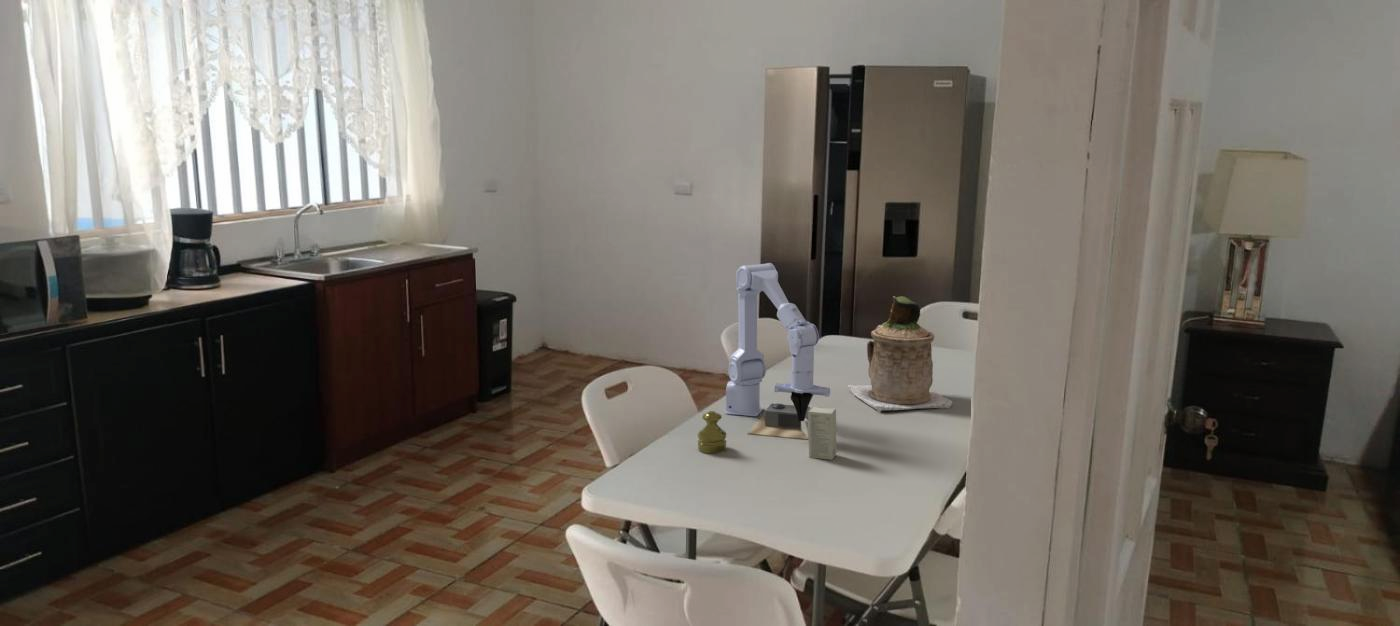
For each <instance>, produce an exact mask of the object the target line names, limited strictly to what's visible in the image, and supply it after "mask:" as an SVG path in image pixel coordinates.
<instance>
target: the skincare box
mask: <svg viewBox="0 0 1400 626" xmlns="http://www.w3.org/2000/svg"><path fill="white" fill-rule="evenodd" d="M808 420H809V440H808V457H809V458H812V459H821V460H830V461H831V460H833V459H834V458H835V456H836V455H837V409H836V408H834V407H833V408H832V407H831V408H830V407H822V406H821V407H820V406H812V407H810V410H809V411H808Z"/></svg>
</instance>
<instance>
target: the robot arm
mask: <svg viewBox="0 0 1400 626" xmlns="http://www.w3.org/2000/svg"><path fill="white" fill-rule="evenodd" d="M735 274H736V275H735V280H736V281H735V283H736V284H735V285H736V286H735V289H736V292H737V293H738V294H737V295H738V296H737V299H738V300H737V303H738V305H737V311H738V313H737V314H738V315H737V317H738V319H737V320H738V323H737V324H738V327H737V328H738V347H737V350H735V351H733V353H732V354H731V355H730V357H729V364H728V369H727V373H728V377H729V379H730V380H728V381H727V384H726V389H725V414H726V415H738V416H749V417H758V416H759V415H760V414H761V412H762V411H763V410H764V407H763V406H761V405H760V404H761V403H760V401H761V397H760V394H761V393H760V392H761V388H760V387H761V383H762V382H763V378H765V377H766V373H767V365H766V362H765V354H763V353H762V352H761V351H760V350H759V349H758V301H757V300H758V295H759V294H760V293H761V292H764V294H765V295H766V296H767V298H768V299H769V300H770V301H771V303H772V304H773V305H774V307H775V308H776V309H777V312H776V317H777V318H778V320H779V321H780V323H781V325H782V327H783V328H784V329H785V331H786V332H787V335H786V340H787V343H788V345H789V352H790V354H791V373H790V375H791V376H790V377H791V379H790V380H791V381H790V382H791V383H780V382H779V383H775V384H774V389H773V390H774V393H789V394H790V399H791V400H790V401H791V402H792V403H793V405H794V406H795V408H796V411H797V415H798V421H804V420H805V416H806V412H807V408H808V407H810V406H809V405H810V403H811V401H812V399H813V396H821V397H822V396H824V397H826V398H827V397H828V398H829V397H830V396H831V387H826V386H821V385H816V384H814V357H815V355H814V353H815V346H816V345H817V344H818V343H819V340H820V339H819V338H820V335H819V330H818V328H817V326H816V325H815V324H814V323H811V322H810V321H808V320H806V319H805V317H804V316H803V314H802V312H800V310H799V308H798V307H797V305H796V304H795V303H792V302H789V300H788V299H787V296H786V295H785V293H784V290H783V289H782V287H781V286H780V283H779V272H778V270H777V269H776V267H775V265H774V264H773V263H771V262H767V263H761V264H760V263H759V264H749V265H741V266H740V267H739V268H738V269H737V270H736V272H735Z"/></svg>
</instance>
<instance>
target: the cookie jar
mask: <svg viewBox="0 0 1400 626" xmlns="http://www.w3.org/2000/svg"><path fill="white" fill-rule="evenodd" d="M892 299H893V302H892V305H891V309H890V314H889V318H888V320H887V321H886V322H883V323H882V324H878V325H877V326H876V328H875V329H873V330H872V331H871V333H870V335H871V337H872V339H873V340H868V341H867V343H866V345H867V346H866V354H867V360H868V362H869V363H868V370H867V372H868V377H869V378H870V384H869V385H868V384H867V385H866V384H865V385H860V384H859V385H857V384H848V385H847V386H848V387H849V389H850V391H851V393H852V394H853V396H854V397H857V398H858V399H859V400H860V401H862V402H864V403H865V404H866V405H868V406H869V407H871V408H873V410H876V411H877V412H878V414H881V413H882V412H883V411H902V410H903V411H904V410H915V409H950V408H951V406H952V404H953V400H950V399H948V398H947V397H945V396H942V395H940V394H939V393H937V392H934V391H932V390H930V389H931V387H932V385H933V380H934V377H933V373H934V372H933V371H934V368H933V366H934V362H933V359H932V358H933V356H932V352H933V351H932V350H933V349H932V348H933V347H932V343H933V341H934V339H935V334H934V332H932V331H928V330H927V329H926V328H925V327H922V326H921V325H920V324H919V323H918V322H919V319H920V317H921V308H920V307H921V306H920V305H918V304H917V303H916V302H915V301H912V300H911V299H910V298H908V297H906V296H903V295H900V296H897V297H896V296H895V295H893V296H892Z"/></svg>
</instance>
